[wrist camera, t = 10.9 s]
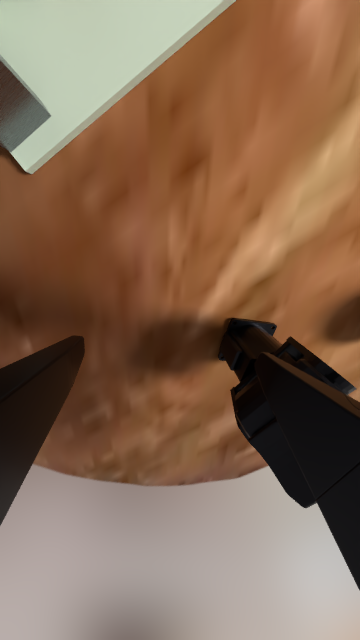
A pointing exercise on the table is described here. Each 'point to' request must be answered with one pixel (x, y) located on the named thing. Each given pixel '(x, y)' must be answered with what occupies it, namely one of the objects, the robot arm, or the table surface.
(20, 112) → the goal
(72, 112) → the pitch
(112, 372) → the table surface
